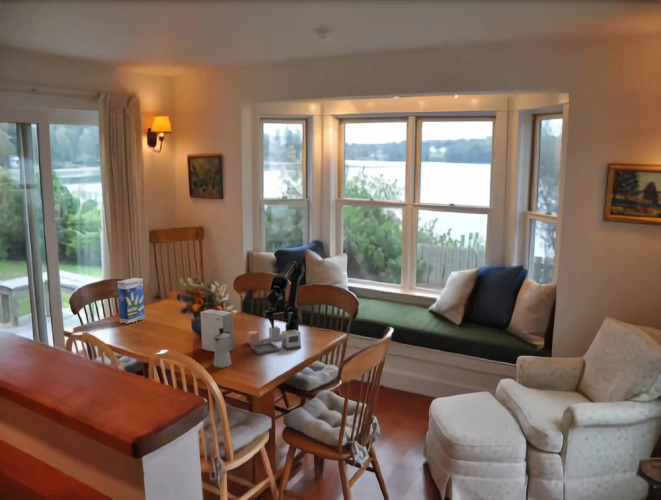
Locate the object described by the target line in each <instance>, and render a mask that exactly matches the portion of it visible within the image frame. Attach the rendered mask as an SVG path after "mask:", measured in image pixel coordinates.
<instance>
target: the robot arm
mask: <svg viewBox="0 0 661 500" xmlns="http://www.w3.org/2000/svg"><path fill="white" fill-rule="evenodd" d="M305 270H306V269H305V266H304V265H303V264H301V263H298V262H296V261H292V260H291V261H287V262H286V265H285V267H284V268H283V269H282V270H281V272H280V273H278V274H275V275H274V277H272V280H271V285H270V288H269V289H270V290H271V293H269V294H268V296H267V300H268V303H267V307H268V309H264V310H263V311H262V316H263V317H264V318H266V319H267V320H269V323H270V326H271V327H272V329H274V327H275V318H274V315H275V316H276V315H281V314H282V318H283V322H284V323H286V324H285V331H288V330H294V329H296V330H298V331H299V330H300V329H299V326H300V325H299V323H301V321H302V317H301V315H300V313H299V312H300V311H299V308H298V305H297V303H298V295H299V288H300V282H301V279H302V278H303V277H304V275H305ZM289 278H291V280H290V288H289V289H290V290H289V294H288V295H289V296H288V302H287V289H288V285H289ZM299 332H300V331H299Z"/></svg>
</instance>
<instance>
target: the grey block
mask: <svg viewBox="0 0 661 500" xmlns="http://www.w3.org/2000/svg"><path fill="white" fill-rule="evenodd" d="M280 332H281V329H280V327H278V326H277V325H276V326H275V325H274V329H272V326H271V327H270V326H269V327H268V338H269V339H270V340H271V341H274V340H281V333H280Z"/></svg>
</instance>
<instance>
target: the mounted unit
mask: <svg viewBox="0 0 661 500" xmlns="http://www.w3.org/2000/svg"><path fill="white" fill-rule="evenodd" d="M281 348H283V349H284V350H285V351H286V352H288V351H289V352H290V351H293V350H294V351H295V350H300V349H302V345H301V332H300V331H298V330H296V329H294V330H288V331H286V330H282V331H281Z"/></svg>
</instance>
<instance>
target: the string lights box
mask: <svg viewBox="0 0 661 500" xmlns="http://www.w3.org/2000/svg"><path fill="white" fill-rule="evenodd" d="M143 281H144V278H139V277H133V278H126V279H123V280H117V283H116V284H117V294H118V295H117V296H118V297H117V298H118V312H119V313H118V316H119V317H118V318H119V323H120V322H123V323H130V322H134V321H137V320H141V319H144V318H145V319H146V315H145V314H146V313H145V296H144V284H143V283H144V282H143Z"/></svg>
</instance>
